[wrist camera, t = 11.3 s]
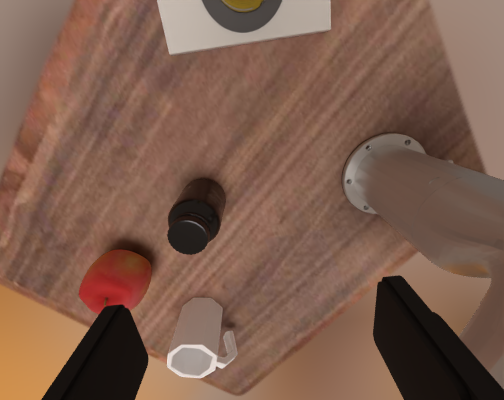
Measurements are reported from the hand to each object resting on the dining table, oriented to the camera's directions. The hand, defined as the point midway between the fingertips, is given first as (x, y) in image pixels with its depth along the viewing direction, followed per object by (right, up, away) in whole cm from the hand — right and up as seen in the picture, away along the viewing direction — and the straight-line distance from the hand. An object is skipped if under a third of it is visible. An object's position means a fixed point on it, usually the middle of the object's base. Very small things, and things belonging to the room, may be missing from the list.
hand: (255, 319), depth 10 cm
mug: (-8, -18, +41) cm, 45 cm away
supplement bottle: (-8, +5, +31) cm, 32 cm away
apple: (-21, -6, +35) cm, 42 cm away
